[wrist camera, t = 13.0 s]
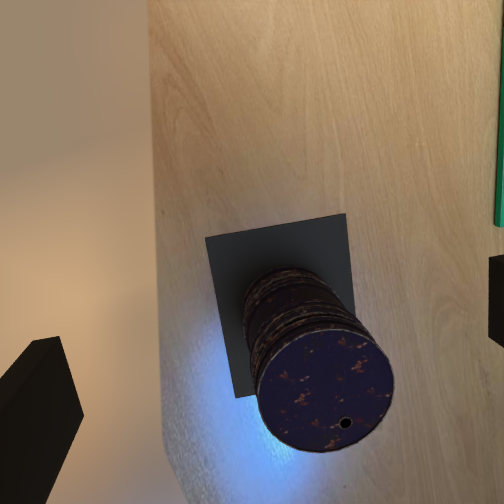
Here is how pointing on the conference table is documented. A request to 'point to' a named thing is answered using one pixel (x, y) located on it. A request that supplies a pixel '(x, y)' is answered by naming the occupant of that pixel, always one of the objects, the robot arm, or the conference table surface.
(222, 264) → the mat
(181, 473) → the conference table surface
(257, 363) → the rusty barrel
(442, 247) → the conference table surface
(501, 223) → the sign
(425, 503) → the conference table surface
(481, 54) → the conference table surface
